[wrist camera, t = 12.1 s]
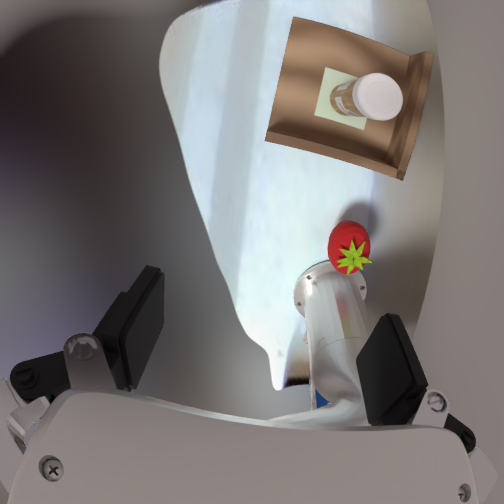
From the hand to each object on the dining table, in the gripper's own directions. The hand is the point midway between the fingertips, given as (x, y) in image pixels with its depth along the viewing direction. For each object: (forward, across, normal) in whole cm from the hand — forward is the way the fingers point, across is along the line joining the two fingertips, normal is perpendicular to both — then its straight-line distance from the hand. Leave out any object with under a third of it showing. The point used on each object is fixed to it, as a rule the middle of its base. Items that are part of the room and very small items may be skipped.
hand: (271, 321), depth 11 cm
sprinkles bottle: (+30, -7, -12) cm, 33 cm away
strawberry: (+31, -12, +7) cm, 34 cm away
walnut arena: (+30, -7, -13) cm, 34 cm away
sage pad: (+30, -7, -12) cm, 33 cm away
